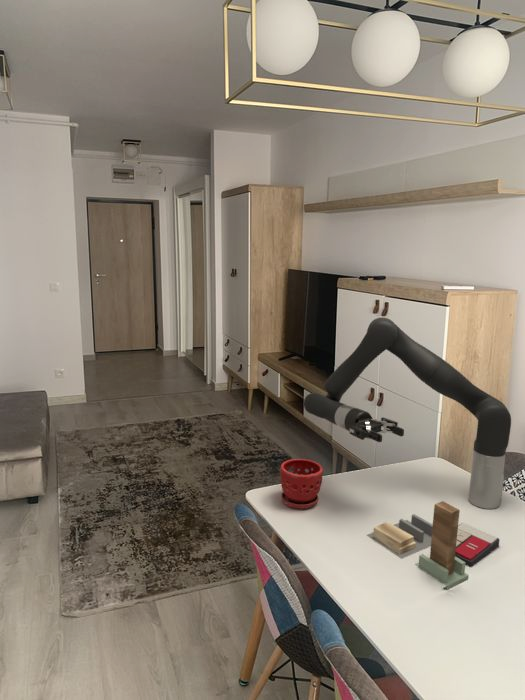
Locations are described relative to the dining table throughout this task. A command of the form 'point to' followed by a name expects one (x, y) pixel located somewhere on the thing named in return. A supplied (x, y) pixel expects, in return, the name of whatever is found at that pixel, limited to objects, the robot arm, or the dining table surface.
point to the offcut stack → (394, 538)
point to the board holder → (444, 571)
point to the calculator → (474, 544)
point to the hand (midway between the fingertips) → (392, 435)
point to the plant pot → (300, 483)
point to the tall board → (444, 535)
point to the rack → (414, 528)
